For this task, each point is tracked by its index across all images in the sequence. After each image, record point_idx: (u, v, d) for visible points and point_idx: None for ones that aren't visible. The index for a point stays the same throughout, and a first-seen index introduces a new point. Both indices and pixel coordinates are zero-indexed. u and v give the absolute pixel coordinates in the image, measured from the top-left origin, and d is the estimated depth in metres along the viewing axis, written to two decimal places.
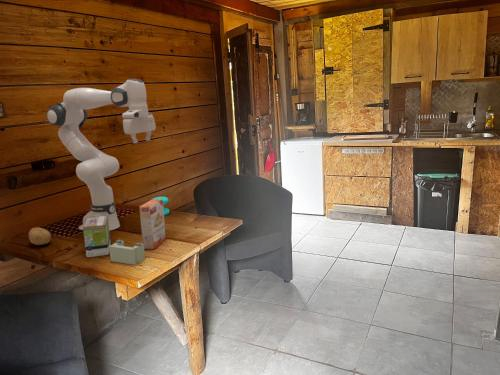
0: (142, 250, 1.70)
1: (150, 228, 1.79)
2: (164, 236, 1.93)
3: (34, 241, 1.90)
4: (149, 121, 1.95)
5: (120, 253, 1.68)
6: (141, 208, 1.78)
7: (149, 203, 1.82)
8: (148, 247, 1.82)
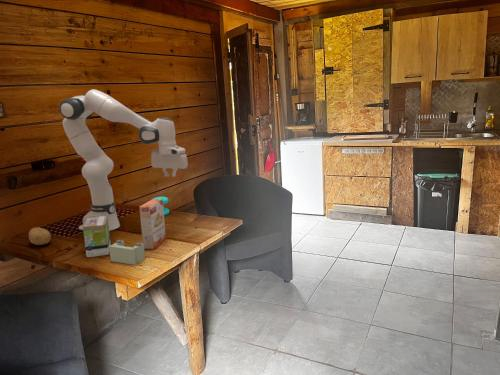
0: (142, 250, 1.70)
1: (150, 228, 1.79)
2: (164, 236, 1.93)
3: (34, 241, 1.90)
4: None
5: (120, 253, 1.68)
6: (141, 208, 1.78)
7: (149, 203, 1.82)
8: (148, 247, 1.82)
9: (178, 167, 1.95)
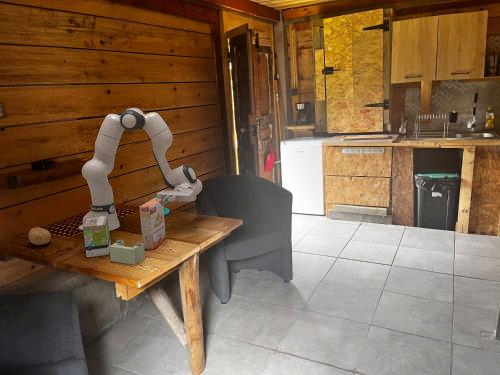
0: (142, 250, 1.70)
1: (150, 228, 1.79)
2: (164, 236, 1.93)
3: (34, 241, 1.90)
4: None
5: (120, 253, 1.68)
6: (141, 208, 1.78)
7: (149, 203, 1.82)
8: (148, 247, 1.82)
9: (182, 194, 1.97)
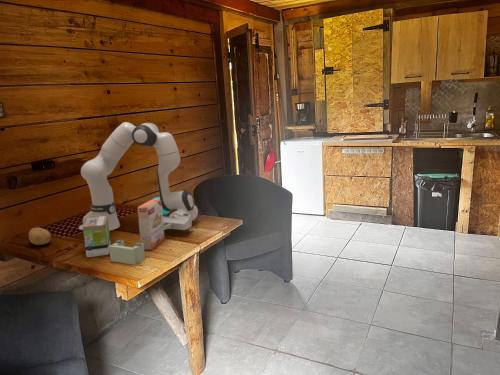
0: (142, 250, 1.70)
1: (148, 229, 1.78)
2: (163, 237, 1.92)
3: (34, 241, 1.90)
4: None
5: (120, 253, 1.68)
6: (139, 209, 1.77)
7: (147, 204, 1.81)
8: (146, 248, 1.81)
9: (178, 222, 1.94)
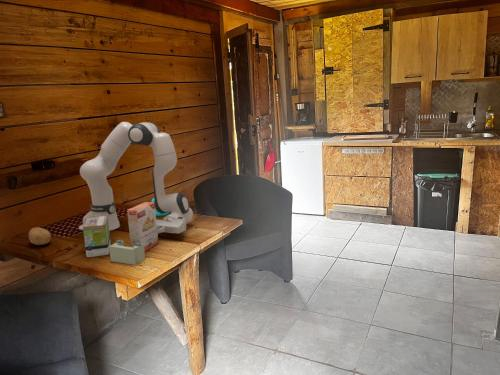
0: (142, 250, 1.70)
1: (137, 232, 1.74)
2: (156, 241, 1.87)
3: (34, 241, 1.90)
4: None
5: (120, 253, 1.68)
6: (129, 211, 1.73)
7: (138, 206, 1.77)
8: None
9: (172, 226, 1.90)
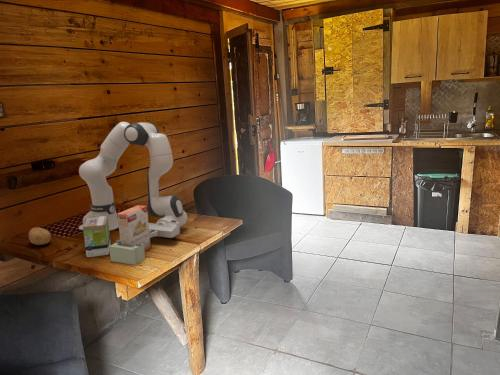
0: (142, 250, 1.70)
1: (128, 237, 1.69)
2: (148, 245, 1.82)
3: (34, 241, 1.90)
4: None
5: (120, 253, 1.68)
6: (119, 215, 1.68)
7: (129, 210, 1.72)
8: None
9: (165, 229, 1.85)
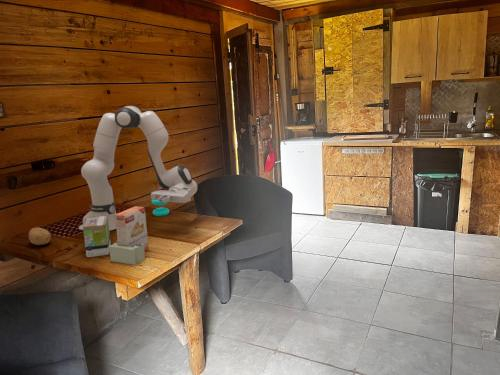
0: (142, 250, 1.70)
1: (125, 238, 1.68)
2: (146, 246, 1.80)
3: (34, 241, 1.90)
4: None
5: (120, 253, 1.68)
6: (116, 216, 1.67)
7: (127, 211, 1.71)
8: None
9: (177, 195, 1.93)
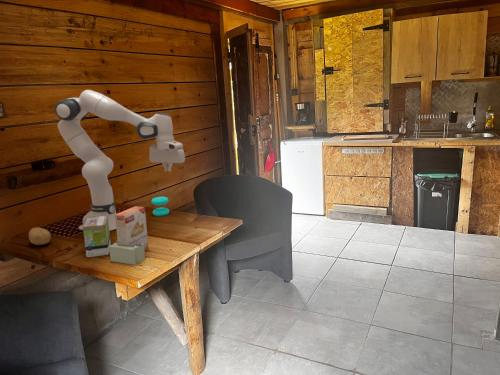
0: (142, 250, 1.70)
1: (125, 238, 1.68)
2: (146, 246, 1.80)
3: (34, 241, 1.90)
4: None
5: (120, 253, 1.68)
6: (116, 216, 1.67)
7: (127, 211, 1.71)
8: None
9: (175, 162, 2.00)
